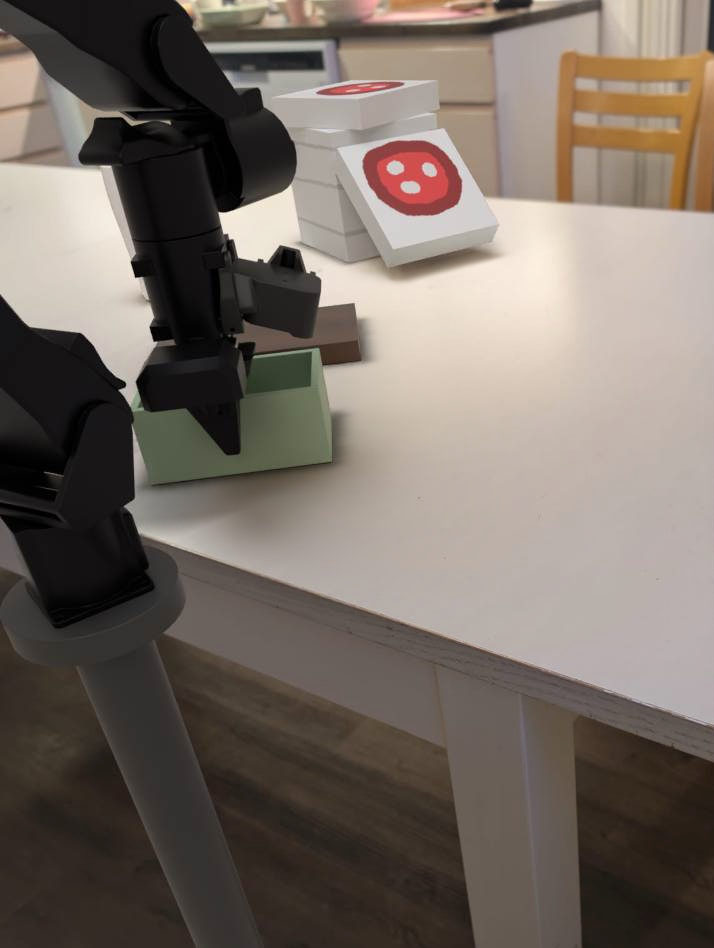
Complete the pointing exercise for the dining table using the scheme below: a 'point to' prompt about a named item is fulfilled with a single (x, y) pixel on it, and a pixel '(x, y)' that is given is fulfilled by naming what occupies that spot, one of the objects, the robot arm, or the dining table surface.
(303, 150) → the pizza boxes
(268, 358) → the cutlery holder
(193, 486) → the dining table surface
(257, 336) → the bread board
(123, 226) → the drinking glass
